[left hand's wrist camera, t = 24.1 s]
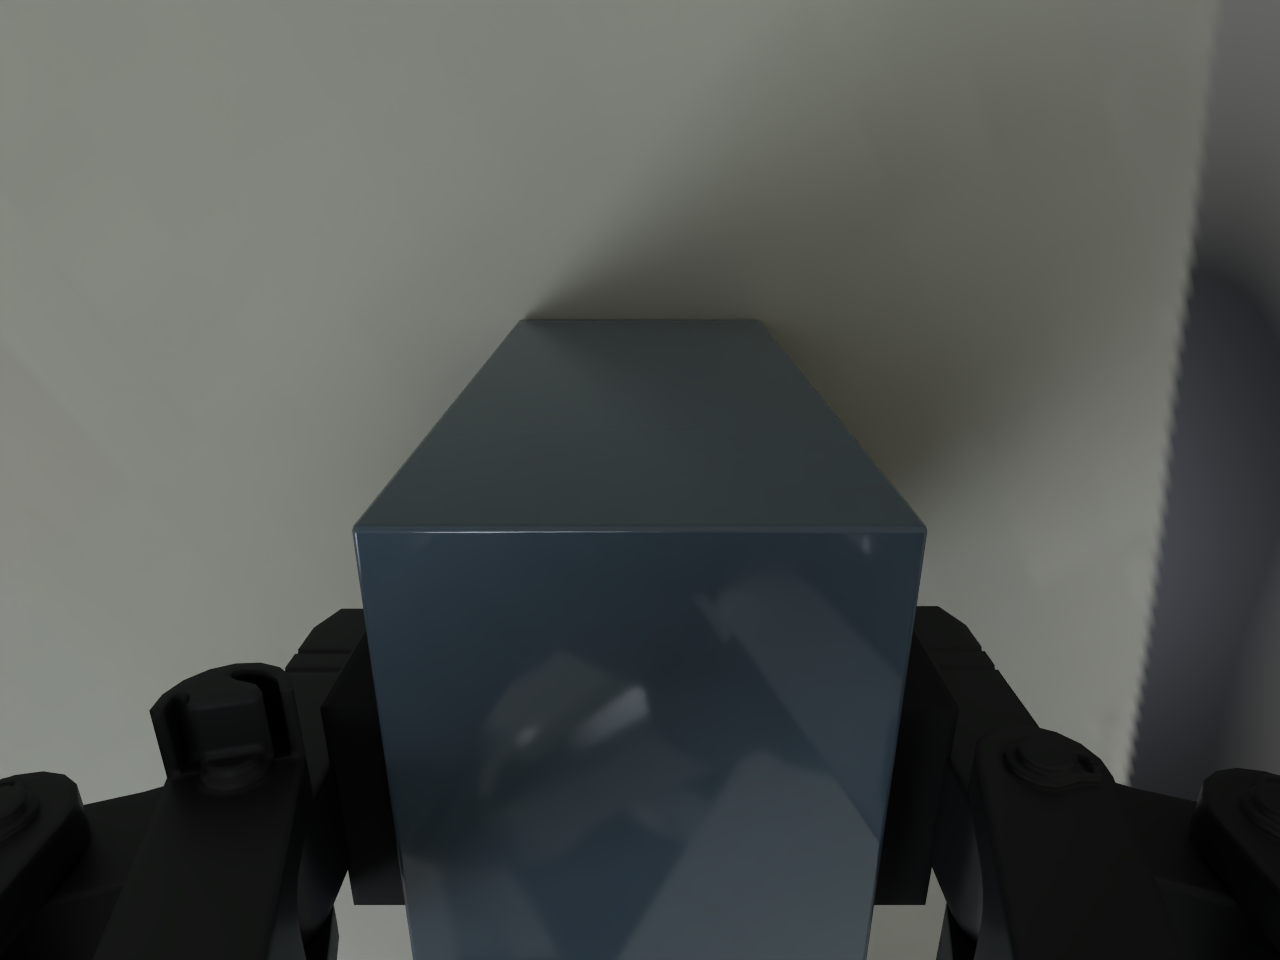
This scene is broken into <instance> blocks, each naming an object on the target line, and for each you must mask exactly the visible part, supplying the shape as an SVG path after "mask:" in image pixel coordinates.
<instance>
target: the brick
mask: <svg viewBox="0 0 1280 960" xmlns="http://www.w3.org/2000/svg"><path fill="white" fill-rule="evenodd" d="M352 532H353V539H354V546H355V553H356V560H357V567H358V574H359V581H360V588H361V596H362V603H363V610H364V617H365V624H366V631H367V638H368V645H369V652H370V659H371V666H372V673H373V680H374V687H375V694H376V701H377V708H378V716H379V723H380V730H381V737H382V744H383V751H384V758H385V765H386V772H387V779H388V786H389V793H390V800H391V807H392V814H393V821H394V828H395V836H396V843H397V850H398V857H399V864H400V871H401V878H402V885H403V892H404V899H405V906H406V913H407V920H408V927H409V934H410V941H411V948H412V956H413V960H866V958H867V950H868V943H869V936H870V929H871V922H872V915H873V908H874V901H875V894H876V887H877V880H878V873H879V866H880V859H881V852H882V845H883V838H884V831H885V824H886V817H887V810H888V803H889V796H890V789H891V782H892V775H893V768H894V761H895V754H896V747H897V740H898V732H899V725H900V718H901V711H902V704H903V697H904V690H905V683H906V676H907V669H908V662H909V655H910V648H911V641H912V634H913V627H914V620H915V613H916V606H917V599H918V592H919V585H920V578H921V571H922V564H923V557H924V550H925V543H926V536H927V528H926V525H925V524H924V523H923V522H922V520H921V519H920V518H919V517H918V515H917V514H916V513H915V512H914V510H913V509H912V508H911V507H910V506H909V504H908V503H907V502H906V501H905V499H904V498H903V497H902V496H901V494H900V493H899V492H898V491H897V489H896V488H895V487H894V486H893V485H892V483H891V482H890V481H889V480H888V478H887V477H886V476H885V475H884V473H883V472H882V471H881V470H880V469H879V467H878V466H877V465H876V464H875V462H874V461H873V460H872V459H871V457H870V456H869V455H868V454H867V452H866V451H865V450H864V449H863V448H862V446H861V445H860V444H859V443H858V441H857V440H856V439H855V438H854V436H853V435H852V434H851V433H850V432H849V430H848V429H847V428H846V427H845V425H844V424H843V423H842V422H841V420H840V419H839V418H838V417H837V415H836V414H835V413H834V412H833V411H832V409H831V408H830V407H829V406H828V404H827V403H826V402H825V401H824V399H823V398H822V397H821V396H820V395H819V393H818V392H817V391H816V390H815V388H814V387H813V386H812V385H811V383H810V382H809V381H808V380H807V378H806V377H805V376H804V375H803V374H802V372H801V371H800V370H799V369H798V367H797V366H796V365H795V364H794V362H793V361H792V360H791V359H790V357H789V356H788V355H787V354H786V353H785V351H784V350H783V349H782V348H781V346H780V345H779V344H778V343H777V341H776V340H775V339H774V338H773V337H772V335H771V334H770V333H769V332H768V330H767V329H766V328H765V327H764V325H763V324H762V323H761V322H760V321H759V320H520V321H519V322H518V323H517V324H516V325H515V327H514V328H513V329H512V330H511V332H510V333H509V334H508V335H507V337H506V338H505V339H504V340H503V342H502V343H501V344H500V345H499V346H498V348H497V349H496V350H495V351H494V353H493V354H492V355H491V356H490V358H489V359H488V360H487V361H486V363H485V364H484V365H483V366H482V368H481V369H480V370H479V371H478V372H477V374H476V375H475V376H474V377H473V379H472V380H471V381H470V382H469V384H468V385H467V386H466V387H465V389H464V390H463V391H462V392H461V394H460V395H459V396H458V397H457V398H456V400H455V401H454V402H453V403H452V405H451V406H450V407H449V408H448V410H447V411H446V412H445V413H444V415H443V416H442V417H441V418H440V419H439V421H438V422H437V423H436V424H435V426H434V427H433V428H432V429H431V431H430V432H429V433H428V434H427V436H426V437H425V438H424V439H423V441H422V442H421V443H420V444H419V445H418V447H417V448H416V449H415V450H414V452H413V453H412V454H411V455H410V457H409V458H408V459H407V460H406V462H405V463H404V464H403V465H402V467H401V468H400V469H399V470H398V471H397V473H396V474H395V475H394V476H393V478H392V479H391V480H390V481H389V483H388V484H387V485H386V486H385V488H384V489H383V490H382V491H381V492H380V494H379V495H378V496H377V497H376V499H375V500H374V501H373V502H372V504H371V505H370V506H369V507H368V509H367V510H366V511H365V512H364V514H363V515H362V516H361V517H360V518H359V520H358V521H357V522H356V523H355V525H354V527H353V530H352Z"/></svg>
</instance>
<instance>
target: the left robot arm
mask: <svg viewBox="0 0 1280 960" xmlns="http://www.w3.org/2000/svg"><path fill="white" fill-rule="evenodd" d="M994 666H995V665H994V664H993V662H992V661H991V659H990V658H989V657H988V655H987V654H986V652H985V651H982V649H981V645H980V644H979V643H978V641H977V640H976V639H975V637H974V636H973V634H972V633H971V632H970V630H969V629H968V627H967V626H966V625H965V624H964V623H962V622H961V621H959V620H958V619H956V618H955V617H953V616H952V615H950V614H949V613H947V612H946V611H944V610H943V609H941V608H940V607H938V606H916V613H915V620H914V627H913V634H912V641H911V648H910V655H909V662H908V669H907V676H906V683H905V690H904V697H903V704H902V711H901V718H900V725H899V732H898V740H897V747H896V754H895V761H894V768H893V775H892V782H891V789H890V796H889V803H888V810H887V817H886V824H885V831H884V838H883V845H882V852H881V859H880V866H879V873H878V880H877V887H876V894H875V901H874V905H925V903H926V898H927V892H928V886H929V880H930V875H931V869H932V868H933V870H934V873H935V875H936V878H937V880H938V882H939V885H940V887H941V890H942V892H943V894H944V897H945V899H946V901H947V904H946V909H945V915H944V920H943V925H942V931H941V936H940V941H939V947H938V952H937V958H936V960H1280V776H1279V775H1275V774H1272V773H1268V772H1265V771H1257V770H1249V769H1242V768H1234V769H1227V770H1220V771H1215V772H1214V773H1213V774H1212V775H1210V776H1209V777H1208V778H1206V779H1205V780H1204V781H1203V785H1202V788H1201V791H1200V794H1199V797H1198V800H1197V802H1195V801H1191V800H1186V799H1181V798H1177V797H1172V796H1167V795H1163V794H1158V793H1154V792H1149V791H1144V790H1140V789H1135V788H1132V787H1129V786H1125V785H1121V784H1118V783H1115V781H1114V778H1113V776H1112V775H1111V773H1110V772H1109V770H1108V769H1107V767H1106V766H1105V765H1104V763H1103V762H1102V760H1101V759H1100V758H1098V757H1097V756H1096V755H1095V754H1093V753H1092V752H1091V751H1089V750H1088V749H1087V748H1085V747H1084V746H1083V745H1082V744H1080V743H1078V742H1076V741H1074V740H1072V739H1069V738H1067V737H1065V736H1063V735H1061V734H1059V733H1057V732H1053V731H1049V730H1046V729H1042V728H1039V726H1038V725H1037V723H1036V722H1035V721H1034V719H1033V718H1032V716H1031V715H1030V714H1029V712H1028V711H1027V710H1026V708H1025V707H1024V705H1023V704H1022V703H1021V701H1020V700H1019V698H1018V697H1017V696H1016V694H1015V693H1014V691H1013V690H1012V689H1011V687H1010V686H1009V684H1008V683H1007V682H1006V680H1005V679H1004V678H1003V676H1002V675H1001V673H1000V672H999V671H998V670H995V667H994ZM149 711H150V715H151V719H152V722H153V726H154V730H155V734H156V737H157V741H158V745H159V749H160V752H161V756H162V760H163V764H164V767H165V771H166V775H167V779H166V782H165V784H164V786H163V787H160V788H156V789H153V790H149V791H146V792H141V793H137V794H132V795H128V796H123V797H119V798H114V799H109V800H105V801H100V802H96V803H91V804H86V805H83V803H82V799H81V796H80V793H79V790H78V787H77V784H76V783H74V782H73V781H72V780H71V779H69V778H68V777H67V776H66V775H64V774H57V773H50V772H35V773H28V774H20V775H14V776H11V777H7V778H3V779H1V780H0V960H337V951H338V941H339V933H338V927H337V920H336V915H335V909H334V902H335V899H336V897H337V895H338V892H339V890H340V887H341V885H342V883H343V880H344V878H345V875H346V873H347V871H348V872H349V878H350V884H351V889H352V895H353V901H354V905H405V899H404V892H403V885H402V878H401V871H400V864H399V857H398V850H397V843H396V836H395V828H394V821H393V814H392V807H391V800H390V793H389V786H388V779H387V772H386V765H385V758H384V751H383V744H382V737H381V730H380V723H379V716H378V708H377V701H376V694H375V687H374V680H373V673H372V666H371V659H370V652H369V645H368V638H367V631H366V624H365V617H364V610H363V609H341V610H339V611H338V612H336V613H335V614H333V615H332V616H330V617H329V618H327V619H326V620H324V621H323V622H322V623H320V624H319V625H317V626H316V627H314V628H313V630H312V631H311V632H310V634H309V635H308V637H307V638H306V639H305V641H304V642H303V644H302V645H301V647H300V648H299V649H298V654H295V655H294V656H293V658H292V659H291V661H290V662H289V663H288V665H287V666H286V668H285V671H284V670H282V669H281V668H280V667H277V666H272V665H268V664H264V663H238V664H232V665H227V666H223V667H219V668H214V669H210V670H207V671H205V672H202V673H200V674H198V675H195V676H193V677H190V678H188V679H186V680H183V681H182V682H180V683H179V684H177V685H176V686H174V687H173V688H171V689H170V690H169V691H167V692H166V693H164V694H163V695H162V696H161V697H160V698H159V699H158V701H157V702H156V703H155V704H154V706H153V707H152V708H151V709H150V710H149Z"/></svg>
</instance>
